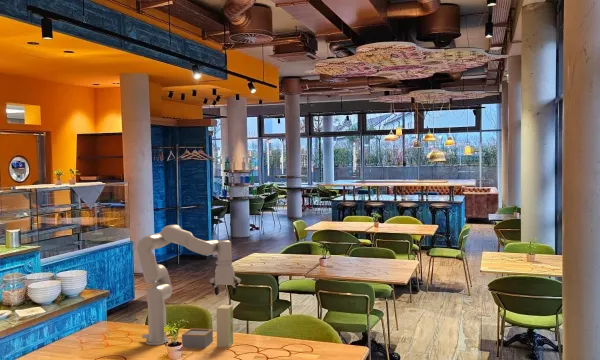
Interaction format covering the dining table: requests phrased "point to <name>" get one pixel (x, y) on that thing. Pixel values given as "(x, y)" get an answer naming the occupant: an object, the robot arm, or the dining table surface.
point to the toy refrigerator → (224, 325)
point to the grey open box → (197, 338)
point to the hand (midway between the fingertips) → (225, 294)
